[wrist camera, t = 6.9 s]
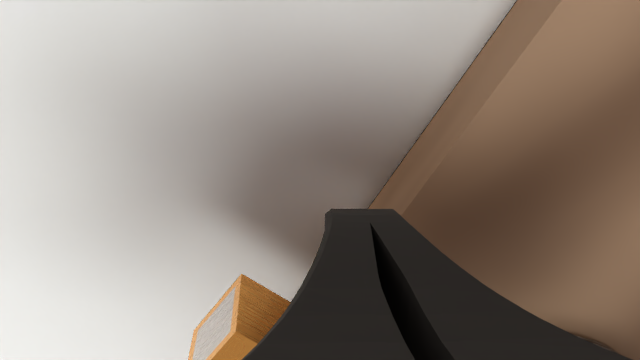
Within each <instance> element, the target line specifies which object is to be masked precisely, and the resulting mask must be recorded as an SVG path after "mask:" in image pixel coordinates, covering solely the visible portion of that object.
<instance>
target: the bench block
mask: <svg viewBox="0 0 640 360" xmlns="http://www.w3.org/2000/svg"><path fill="white" fill-rule="evenodd" d="M368 209H394V210H395V211H396V212H397V213H398V214H400V215H401V216H402V217H403V218H404V219H405V220H406V221H407V222H408V223H409V224H410V225H412V226H413V227H414V228H415V229H416V230H417V231H418V232H419V233H420V234H422V235H423V236H424V237H425V238H426V239H427V240H428V241H429V242H431V243H432V244H433V245H434V246H435V247H436V248H438V249H439V250H440V251H441V252H442V253H443V254H445V255H446V256H447V257H448V258H450V259H451V260H452V261H453V262H455V263H456V264H457V265H458V266H460V267H461V268H462V269H464V270H465V271H466V272H468V273H469V274H471V275H472V276H473V277H475V278H476V279H477V280H479V281H480V282H482V283H483V284H484V285H486V286H487V287H489V288H490V289H492V290H493V291H495V292H496V293H498V294H500V295H501V296H503V297H505V298H506V299H508V300H510V301H511V302H513V303H514V304H516V305H518V306H519V307H521V308H523V309H524V310H526V311H528V312H530V313H532V314H533V315H535V316H537V317H539V318H541V319H543V320H545V321H547V322H549V323H551V324H553V325H555V326H557V327H559V328H561V329H563V330H565V331H567V332H569V333H571V334H573V335H575V336H579V337H583V338H587V339H591V340H594V341H597V342H599V343H601V344H604V345H606V346H608V347H609V348H611V349H613V350H615V351H616V352H617V353H619V354H620V355H622V356H625V357H628V358H630V359H633V360H640V0H517V2H516V3H515V4H514V6H513V7H512V9H511V10H510V11H509V13H508V14H507V16H506V17H505V18H504V20H503V21H502V22H501V24H500V25H499V27H498V28H497V29H496V31H495V32H494V34H493V35H492V36H491V38H490V39H489V41H488V42H487V43H486V45H485V46H484V48H483V49H482V50H481V52H480V53H479V55H478V56H477V57H476V59H475V60H474V62H473V63H472V64H471V66H470V67H469V69H468V70H467V71H466V73H465V74H464V76H463V77H462V78H461V80H460V81H459V83H458V84H457V85H456V87H455V88H454V89H453V91H452V92H451V94H450V95H449V96H448V98H447V99H446V101H445V102H444V103H443V105H442V106H441V108H440V109H439V110H438V112H437V113H436V115H435V116H434V117H433V119H432V120H431V122H430V123H429V124H428V126H427V127H426V129H425V130H424V131H423V133H422V134H421V136H420V137H419V138H418V140H417V141H416V143H415V144H414V145H413V147H412V148H411V150H410V151H409V152H408V154H407V155H406V156H405V158H404V159H403V161H402V162H401V163H400V165H399V166H398V168H397V169H396V170H395V172H394V173H393V175H392V176H391V177H390V179H389V180H388V182H387V183H386V184H385V186H384V187H383V189H382V190H381V191H380V193H379V194H378V196H377V197H376V198H375V200H374V201H373V203H372V204H371V205H370V207H369V208H368Z"/></svg>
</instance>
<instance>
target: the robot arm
mask: <svg viewBox="0 0 640 360" xmlns="http://www.w3.org/2000/svg"><path fill="white" fill-rule="evenodd" d="M242 360H633V359H630V358H628V357H625V356H622V355H620V354H617V353H615V352H612V351H610V350H607V349H605V348H602V347H600V346H598V345H595V344H593V343H591V342H589V341H586V340H584V339H582V338H579V337H577V336H575V335H573V334H571V333H569V332H567V331H565V330H563V329H561V328H559V327H557V326H555V325H553V324H551V323H549V322H547V321H545V320H543V319H541V318H539V317H537V316H535V315H533V314H532V313H530V312H528V311H526V310H524V309H523V308H521V307H519V306H518V305H516V304H514V303H513V302H511V301H510V300H508V299H506V298H505V297H503V296H501V295H500V294H498V293H496V292H495V291H493V290H492V289H490V288H489V287H487V286H486V285H484V284H483V283H482V282H480V281H479V280H477V279H476V278H475V277H473V276H472V275H471V274H469V273H468V272H466V271H465V270H464V269H462V268H461V267H460V266H458V265H457V264H456V263H455V262H453V261H452V260H451V259H450V258H448V257H447V256H446V255H445V254H443V253H442V252H441V251H440V250H439V249H438V248H436V247H435V246H434V245H433V244H432V243H431V242H429V241H428V240H427V239H426V238H425V237H424V236H423V235H422V234H420V233H419V232H418V231H417V230H416V229H415V228H414V227H413V226H412V225H410V224H409V223H408V222H407V221H406V220H405V219H404V218H403V217H402V216H401V215H400V214H398V213H397V212H396V211H395V210H394V209H331V210H330V211H329V212H327V213H326V214H325V232H324V236H323V239H322V242H321V245H320V247H319V250H318V252H317V255H316V258H315V260H314V262H313V264H312V266H311V268H310V270H309V272H308V274H307V276H306V278H305V280H304V282H303V284H302V285H301V287H300V289H299V290H298V292H297V294H296V295H295V297H294V298H293V300H292V302H291V303H290V304H289V306H288V307H287V309H286V310H285V312H284V313H283V314H282V316H281V317H280V318H279V319H278V321H277V322H276V323H275V324H274V326H273V327H272V328H271V329H270V330H269V332H268V333H267V334H266V335H265V336H264V337H263V339H262V340H261V341H260V342H259V343H258V344H257V345H256V346H255V347H254V348H253V349H252V350H251V351H250V352H249V353H248V354H247V355H246V356H245V357H244V358H243V359H242Z"/></svg>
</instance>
